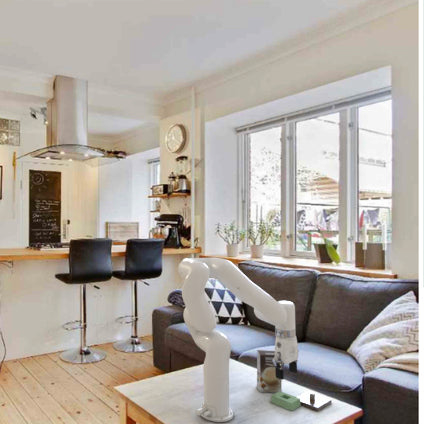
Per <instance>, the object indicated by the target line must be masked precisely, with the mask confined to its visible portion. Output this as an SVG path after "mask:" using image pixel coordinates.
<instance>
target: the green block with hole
mask: <svg viewBox="0 0 424 424" xmlns="http://www.w3.org/2000/svg"><path fill="white" fill-rule="evenodd" d="M297 397H298V396H295V395H292V394H289V393H287V392H284V391H282V392H281V391H279V392H277V393H272V394H270V403H271V404H274V405H276V406H278V407H281V408H284V409H286V410H288V411H294V410H296V409H298V408H300V407H301V406H302V405H301V401H300V398H297Z"/></svg>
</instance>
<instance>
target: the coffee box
mask: <svg viewBox="0 0 424 424" xmlns="http://www.w3.org/2000/svg"><path fill="white" fill-rule="evenodd" d="M256 351H257V353H256V355H257V357H256V387H257V389H258V391H259V392H260V393H272V394H275V393H277V392H279V391H281V392H283V391H282V389H283V388H282V379H279V378H276V370H275V366H274V364H273V361H272V360H273V358H274V357H275V350H261V349H257V350H256ZM281 361H282V360H281ZM279 365H281V363H279Z"/></svg>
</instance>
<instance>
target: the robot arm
mask: <svg viewBox="0 0 424 424" xmlns="http://www.w3.org/2000/svg"><path fill="white" fill-rule="evenodd" d="M177 272H178V274H179V277H181V278H182V279H183V280H184V282H183V285H182V289H181V297H182V300H183V303H184V306H185V308H184V309H183V314H182V316H183V321H184V323H185V326H186V327H187V330H188V332H189V333H190V336H191V338H192V340H193V341H194V343H195V345H196V346H197V347H198V348H199V349H200V350H201V351H203V352H204V353H205V357H204V361H203V366H202V367H203V369H202V370H203V403H202V404H201V407H200V408H198V409H196V410H195V415H196V416H201V417H202V418H203V419H204V420H207V421H210V422H215V423H225V422H229V421H231V420H232V419H233V418H234V410H233V409H231V407H230V358H231V352H232V344H231V341H230V339H229V338H228V336H226V335H225V334H224V333H223V332H221V331H220V330H217V329H216V327H217V324H218V323H217V322H218V321H217V317H216V314H215V312H214V311H213V308H212V306H211V305H210V302H209V300H208V297H207V295H206V293H205V292H206V289H205V288H206V285H207V283H208V281H209V279H215V280H217V281H218V282H219V283H221V284H222V285H223V287H225V288H226V289H227V290H228V291H229V292H230V293H231V294H232V295H233V296H234V297H235V298H236V299H238V300H239V301H241V302H242V303H244V304H246V305H248V306H249V307H252V308H253V313H254V315H255V317H256V318H257V319H259V320H261V321H263V322H264V323H267V324H270V325H272V326H275V327H274V329H275V330H274V331H275V341H274V351H275V357H274V358H273V360H272V361H273V364H274V366H275V370H276V378H279V379H282V380H284V379H285V375H284V374H285V373H284V369H283V368H284V365H288V371H289V372H292V373H295V374H297V373H298V361H299V360H298V359H299V352H300V350H299V346H298V339H297V335H296V306H295V303H293V302H292V301H289V300H278V301H277V300H276V299H275V298H274V297H273V296H272V295H270V294H269V293H267V292H266V291H265V290H264V289H262V288H261V287H260V286H258V285H257V284H255V283H254V282H253V281H252V280H251V279H250V278H249V277H248V276H247V275H245V274H244V273H243V272H242V270H240V269H239V268H238V267H237V266H236V265H235V264H234V263H233V262H232V261H230V260H228V259H225V258H222V257H221V258H220V257H216V256H215V257H192V258H184V259H183V260H181V261H180V262H179V264H178V267H177ZM281 360H282V361H281ZM279 363H281V365H279Z"/></svg>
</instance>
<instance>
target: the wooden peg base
mask: <svg viewBox="0 0 424 424" xmlns="http://www.w3.org/2000/svg"><path fill="white" fill-rule="evenodd" d="M296 397H297V398H300V401H301V406H302V407H304V408H307V409H309V410H312V411H315V412H320V411H321V410H323V409H325V408H326V407H328V406H330V405H331V404H332V399H331V398H328V397H326V396H322V395H320V394H316V392H313V391H305V392H303V393H301V394H300V395H298V396H296Z"/></svg>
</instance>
